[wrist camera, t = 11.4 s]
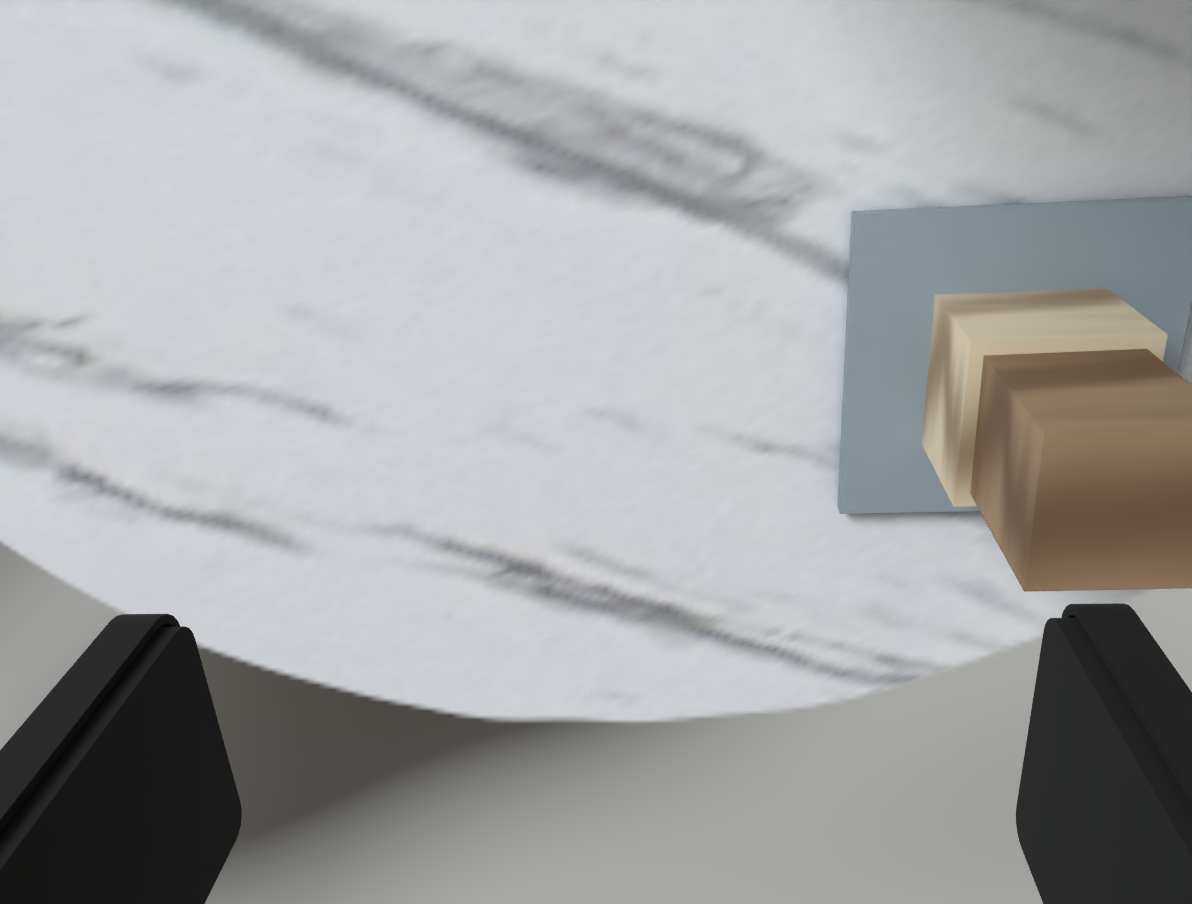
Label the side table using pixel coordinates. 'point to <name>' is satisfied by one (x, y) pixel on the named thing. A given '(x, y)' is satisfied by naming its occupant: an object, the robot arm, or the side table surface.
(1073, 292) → the beech block
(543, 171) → the side table surface
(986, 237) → the build plate
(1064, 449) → the walnut block
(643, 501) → the side table surface
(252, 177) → the side table surface
